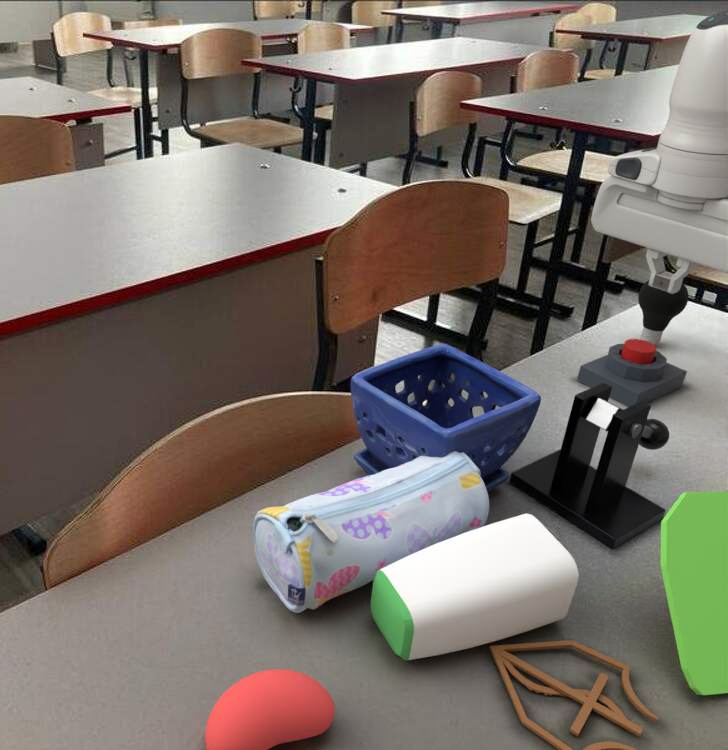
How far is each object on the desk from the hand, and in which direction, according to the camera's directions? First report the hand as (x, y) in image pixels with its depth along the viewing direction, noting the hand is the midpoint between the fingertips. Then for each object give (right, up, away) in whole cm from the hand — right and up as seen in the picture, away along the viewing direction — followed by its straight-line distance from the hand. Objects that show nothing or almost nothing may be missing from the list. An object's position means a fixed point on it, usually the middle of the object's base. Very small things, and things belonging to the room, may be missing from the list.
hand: (663, 288), depth 93 cm
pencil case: (-39, -27, -22) cm, 52 cm away
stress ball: (-49, -34, -41) cm, 72 cm away
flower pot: (-30, -21, -11) cm, 39 cm away
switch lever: (-12, -17, -14) cm, 25 cm away
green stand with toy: (-10, -27, -31) cm, 42 cm away
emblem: (-26, -33, -34) cm, 54 cm away
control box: (-1, -11, +7) cm, 13 cm away
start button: (-1, -8, +5) cm, 9 cm away
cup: (-39, -29, -31) cm, 58 cm away
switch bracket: (-15, -23, -13) cm, 31 cm away
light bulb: (+7, -6, +16) cm, 19 cm away
